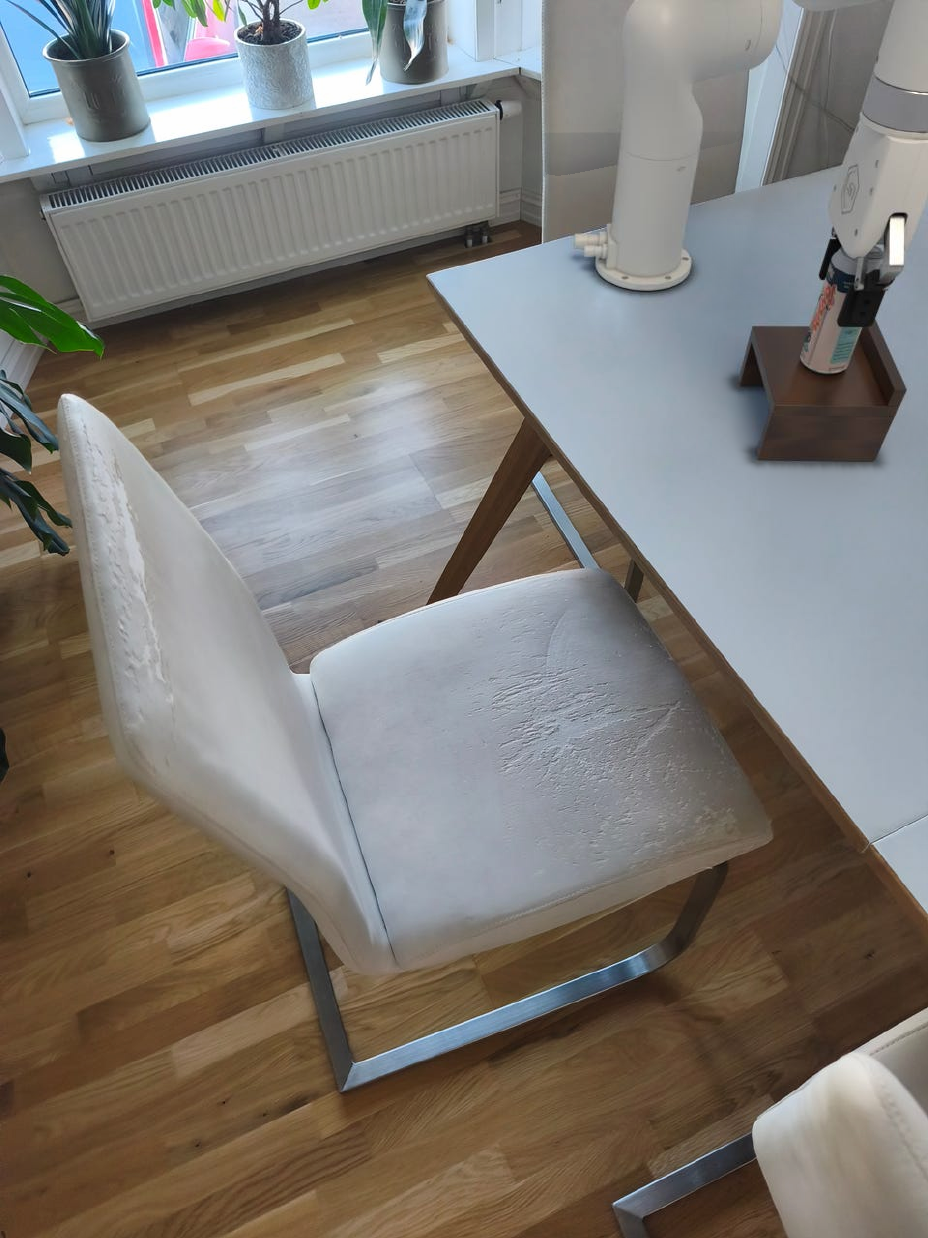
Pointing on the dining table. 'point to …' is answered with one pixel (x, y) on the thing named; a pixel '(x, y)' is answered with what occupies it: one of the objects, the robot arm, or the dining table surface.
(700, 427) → the dining table surface
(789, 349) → the shelf
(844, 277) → the beer can
